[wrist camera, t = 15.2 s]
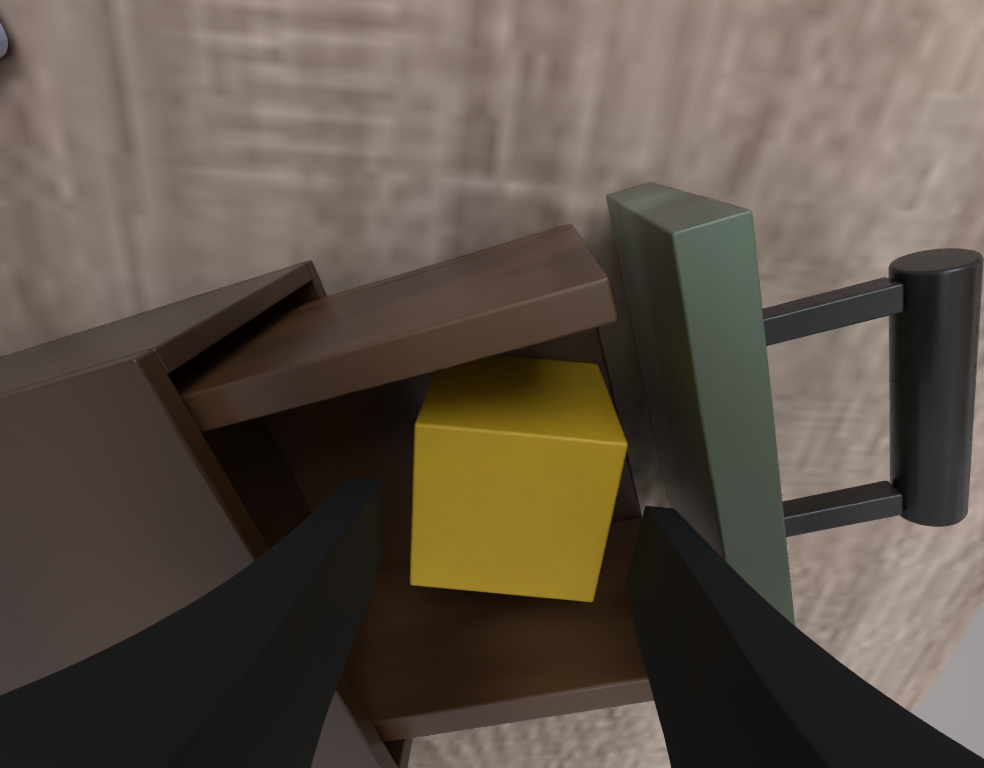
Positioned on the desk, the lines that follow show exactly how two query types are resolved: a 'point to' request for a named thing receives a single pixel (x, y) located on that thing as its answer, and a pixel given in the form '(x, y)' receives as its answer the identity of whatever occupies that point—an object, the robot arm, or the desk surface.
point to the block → (515, 478)
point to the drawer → (673, 406)
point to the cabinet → (132, 495)
